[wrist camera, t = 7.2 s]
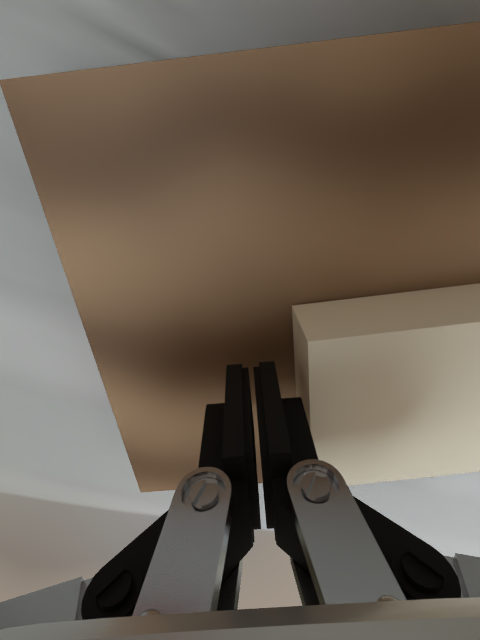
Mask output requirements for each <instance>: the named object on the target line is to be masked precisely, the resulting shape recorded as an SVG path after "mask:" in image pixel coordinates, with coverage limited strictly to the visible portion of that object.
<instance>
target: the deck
mask: <svg viewBox="0 0 480 640" xmlns="http://www.w3.org/2000/svg"><path fill="white" fill-rule="evenodd" d="M0 85H1V88H2V91H3V94H4V97H5V100H6V102H7V105H8V108H9V111H10V114H11V117H12V120H13V123H14V126H15V129H16V131H17V134H18V137H19V140H20V143H21V146H22V149H23V152H24V155H25V158H26V160H27V163H28V166H29V169H30V172H31V175H32V178H33V181H34V184H35V187H36V190H37V192H38V195H39V198H40V201H41V204H42V207H43V210H44V213H45V216H46V219H47V221H48V224H49V227H50V230H51V233H52V236H53V239H54V242H55V245H56V248H57V250H58V253H59V256H60V259H61V262H62V265H63V268H64V271H65V274H66V277H67V280H68V282H69V285H70V288H71V291H72V294H73V297H74V300H75V303H76V306H77V309H78V311H79V314H80V317H81V320H82V323H83V326H84V329H85V332H86V335H87V338H88V340H89V343H90V346H91V349H92V352H93V355H94V358H95V361H96V364H97V367H98V370H99V372H100V375H101V378H102V381H103V384H104V387H105V390H106V393H107V396H108V399H109V401H110V404H111V407H112V410H113V413H114V416H115V419H116V422H117V425H118V428H119V430H120V433H121V436H122V439H123V442H124V445H125V448H126V451H127V454H128V457H129V460H130V462H131V465H132V468H133V471H134V474H135V477H136V480H137V483H138V486H139V489H140V491H141V492H152V491H165V490H176V488H177V486H178V484H179V482H180V481H181V480H182V479H183V477H184V476H185V475H186V474H188V473H190V472H191V471H193V470H195V469H198V466H199V458H200V450H201V442H202V434H203V426H204V418H205V410H206V405H207V404H217V403H225V385H226V366H227V365H232V364H242V368H246V367H248V369H249V379H250V390H251V400H252V411H253V421H254V433H255V448H256V463H257V478H258V483H263V479H262V467H261V456H260V444H259V431H258V419H257V407H256V395H255V382H254V370H253V367H258V366H259V362H268V361H274V362H275V367H276V372H277V377H278V383H279V388H280V393H281V398H294V397H296V380H295V360H294V340H293V320H292V306H293V305H301V304H309V303H318V302H326V301H335V300H343V299H352V298H360V297H368V296H377V295H385V294H394V293H402V292H410V291H419V290H427V289H436V288H444V287H452V286H461V285H469V284H478V283H480V22H472V23H464V24H455V25H447V26H439V27H431V28H423V29H414V30H406V31H398V32H390V33H382V34H373V35H365V36H357V37H349V38H341V39H332V40H324V41H316V42H308V43H300V44H291V45H283V46H275V47H267V48H259V49H250V50H242V51H234V52H226V53H218V54H209V55H201V56H193V57H185V58H177V59H168V60H160V61H152V62H144V63H136V64H127V65H119V66H111V67H103V68H95V69H86V70H78V71H70V72H62V73H54V74H46V75H37V76H29V77H21V78H13V79H5V80H0Z"/></svg>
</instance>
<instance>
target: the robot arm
mask: <svg viewBox="0 0 480 640" xmlns="http://www.w3.org/2000/svg"><path fill="white" fill-rule="evenodd" d="M253 370H254V382H255V395H256V407H257V419H258V431H259V444H260V456H261V467H262V479H263V490H264V501H265V513H266V524H267V529H269V528H274V531H275V540H276V544H277V545H278V546H279V547H280V548H281V549H282V550H283V551H284V552H286V553H287V554H288V555H289V556H290V561H291V566H292V570H293V573H294V577H295V580H296V584H297V588H298V591H299V595H300V598H301V602H302V606H293V607H277V608H259V609H242V610H237V608H238V600H239V591H240V583H241V574H242V558H243V557H244V556H245V555H246V554H247V553H248V551H249V550H250V549H251V548H252V546H253V542H254V529H261V523H260V508H259V493H258V478H257V463H256V448H255V433H254V421H253V411H252V400H251V390H250V379H249V369H248V367H246V368H242V364H232V365H227V366H226V385H225V403H217V404H207V405H206V410H205V418H204V426H203V434H202V442H201V450H200V458H199V466H198V469H195V470H193V471H191V472H190V473H188V474H186V475H185V476H184V477H183V479H182V480H181V481H180V482H179V484H178V486H177V488H176V491H175V494H174V496H173V499H172V502H171V505H170V508H169V510H168V511H167V512H165V513H164V514H163V515H162V516H161V517H160V518H159V519H158V520H156V521H155V522H154V523H153V524H152V525H151V526H149V527H148V528H147V529H146V530H145V531H144V532H143V533H141V534H140V535H139V536H138V537H137V538H136V539H135V540H133V541H132V542H131V543H130V544H129V545H128V546H126V547H125V548H124V549H123V550H122V551H121V552H120V553H118V554H117V555H116V556H115V557H114V558H113V559H112V560H110V561H109V562H108V563H107V564H106V565H105V566H104V567H102V568H101V569H100V571H99V572H98V573H97V574H96V575H95V576H94V577H93V578H91V579H88V580H83V578H82V577H79V578H76V579H73V580H70V581H66V582H63V583H60V584H57V585H54V586H51V587H48V588H45V589H41V590H38V591H35V592H32V593H29V594H26V595H22V596H19V597H16V598H13V599H10V600H7V601H3V602H0V640H480V557H474V556H468V555H463V554H457V553H455V556H454V558H453V557H448V556H443V555H442V554H441V553H439V552H438V551H437V550H436V549H434V548H433V547H432V546H430V545H429V544H427V543H426V542H424V541H422V540H421V539H419V538H418V537H416V536H415V535H413V534H411V533H410V532H408V531H407V530H405V529H404V528H402V527H401V526H399V525H397V524H396V523H394V522H393V521H391V520H390V519H388V518H386V517H385V516H383V515H382V514H380V513H379V512H377V511H376V510H374V509H372V508H371V507H369V506H368V505H366V504H365V503H363V502H361V501H360V500H358V499H357V498H355V497H354V496H352V494H351V492H350V490H349V488H348V486H347V484H346V482H345V480H344V478H343V476H342V475H341V474H340V472H339V471H338V470H337V469H336V468H335V467H334V466H332V465H331V464H329V463H327V462H324V461H322V460H318V456H317V453H316V449H315V445H314V442H313V438H312V435H311V431H310V427H309V424H308V420H307V416H306V413H305V409H304V405H303V402H302V399H301V397H294V398H281V393H280V388H279V383H278V377H277V372H276V367H275V362H274V361H268V362H259V366H258V367H253Z"/></svg>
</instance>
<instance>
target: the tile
mask: <svg viewBox="0 0 480 640" xmlns="http://www.w3.org/2000/svg"><path fill="white" fill-rule="evenodd" d="M292 320H293V340H294V360H295V380H296V397H301V399H302V402H303V405H304V409H305V413H306V416H307V420H308V424H309V427H310V431H311V435H312V438H313V442H314V445H315V449H316V453H317V456H318V460H322V461H324V462H327V463H329V464H331V465H332V466H334V467H335V468H336V469H337V470H338V471H339V472H340V474H341V475H342V476H343V478H344V480H345V482H346V484H347V486H350V485H359V484H368V483H378V482H387V481H396V480H406V479H415V478H424V477H434V476H443V475H452V474H461V473H471V472H480V283H478V284H469V285H461V286H452V287H444V288H436V289H427V290H419V291H410V292H402V293H394V294H385V295H377V296H368V297H360V298H352V299H343V300H335V301H326V302H318V303H309V304H301V305H293V306H292Z"/></svg>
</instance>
